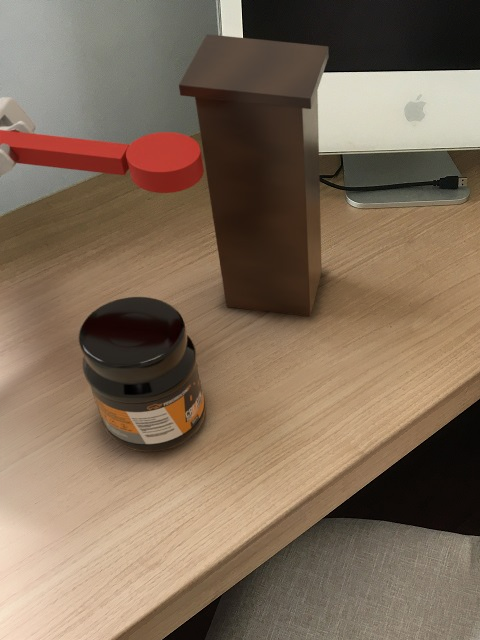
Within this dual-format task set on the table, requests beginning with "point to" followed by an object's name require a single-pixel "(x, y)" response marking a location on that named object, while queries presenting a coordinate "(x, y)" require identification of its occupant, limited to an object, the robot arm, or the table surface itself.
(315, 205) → the walnut stand
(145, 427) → the supplement container
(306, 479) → the table surface
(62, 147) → the red serving spoon
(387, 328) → the table surface
